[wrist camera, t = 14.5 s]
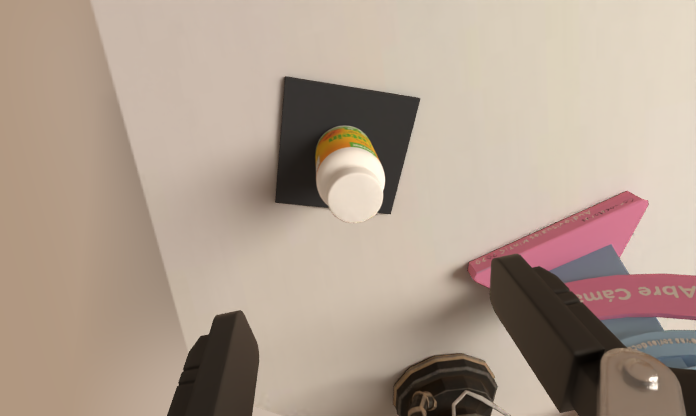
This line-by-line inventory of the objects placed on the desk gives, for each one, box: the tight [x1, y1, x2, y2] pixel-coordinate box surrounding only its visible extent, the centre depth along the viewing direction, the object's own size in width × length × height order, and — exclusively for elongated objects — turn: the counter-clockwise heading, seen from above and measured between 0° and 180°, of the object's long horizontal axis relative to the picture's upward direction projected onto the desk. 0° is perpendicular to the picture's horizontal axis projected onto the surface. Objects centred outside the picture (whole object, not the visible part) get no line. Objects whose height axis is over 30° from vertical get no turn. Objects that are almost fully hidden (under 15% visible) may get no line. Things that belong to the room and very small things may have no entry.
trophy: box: [467, 191, 696, 370], centre depth 30 cm, size 20×17×30 cm
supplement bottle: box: [315, 126, 385, 223], centre depth 28 cm, size 5×5×10 cm
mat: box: [275, 77, 420, 214], centre depth 33 cm, size 12×12×1 cm
